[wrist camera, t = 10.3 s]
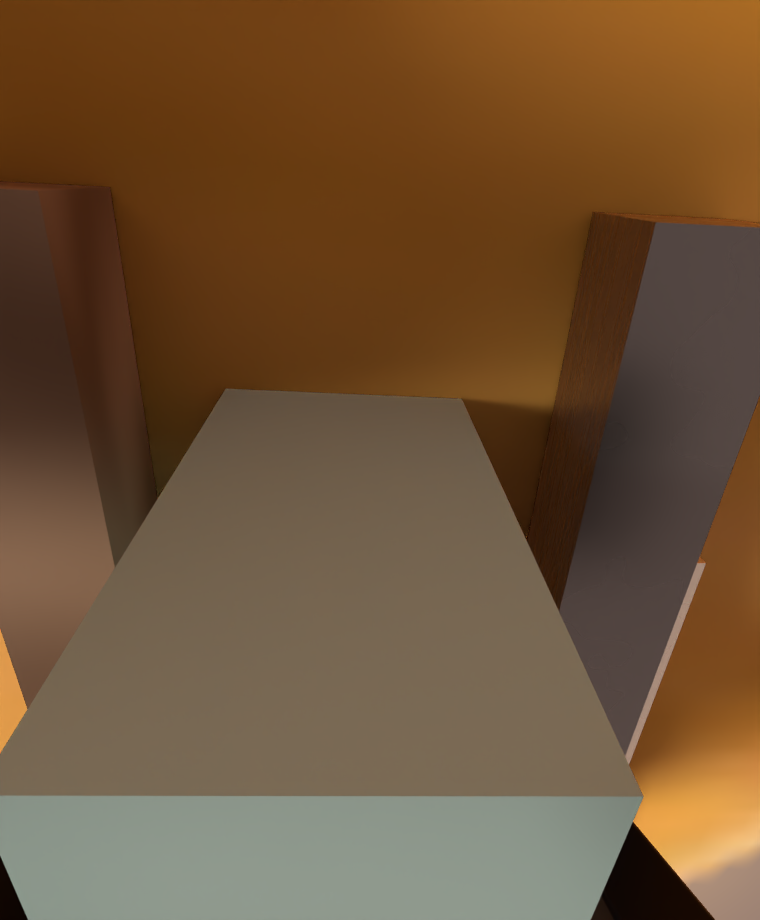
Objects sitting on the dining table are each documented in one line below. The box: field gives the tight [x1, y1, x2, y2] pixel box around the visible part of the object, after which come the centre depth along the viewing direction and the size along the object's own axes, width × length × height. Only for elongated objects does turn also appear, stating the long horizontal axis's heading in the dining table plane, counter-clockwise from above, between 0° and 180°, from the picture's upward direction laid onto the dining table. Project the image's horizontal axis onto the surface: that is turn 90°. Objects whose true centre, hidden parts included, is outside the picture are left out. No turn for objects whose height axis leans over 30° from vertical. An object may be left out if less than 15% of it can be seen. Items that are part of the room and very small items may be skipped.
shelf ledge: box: [0, 181, 157, 709], centre depth 10 cm, size 15×2×2 cm, turn 177°
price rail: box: [527, 212, 760, 764], centre depth 11 cm, size 15×2×2 cm, turn 177°
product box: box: [0, 389, 643, 920], centre depth 9 cm, size 4×9×7 cm, turn 177°
